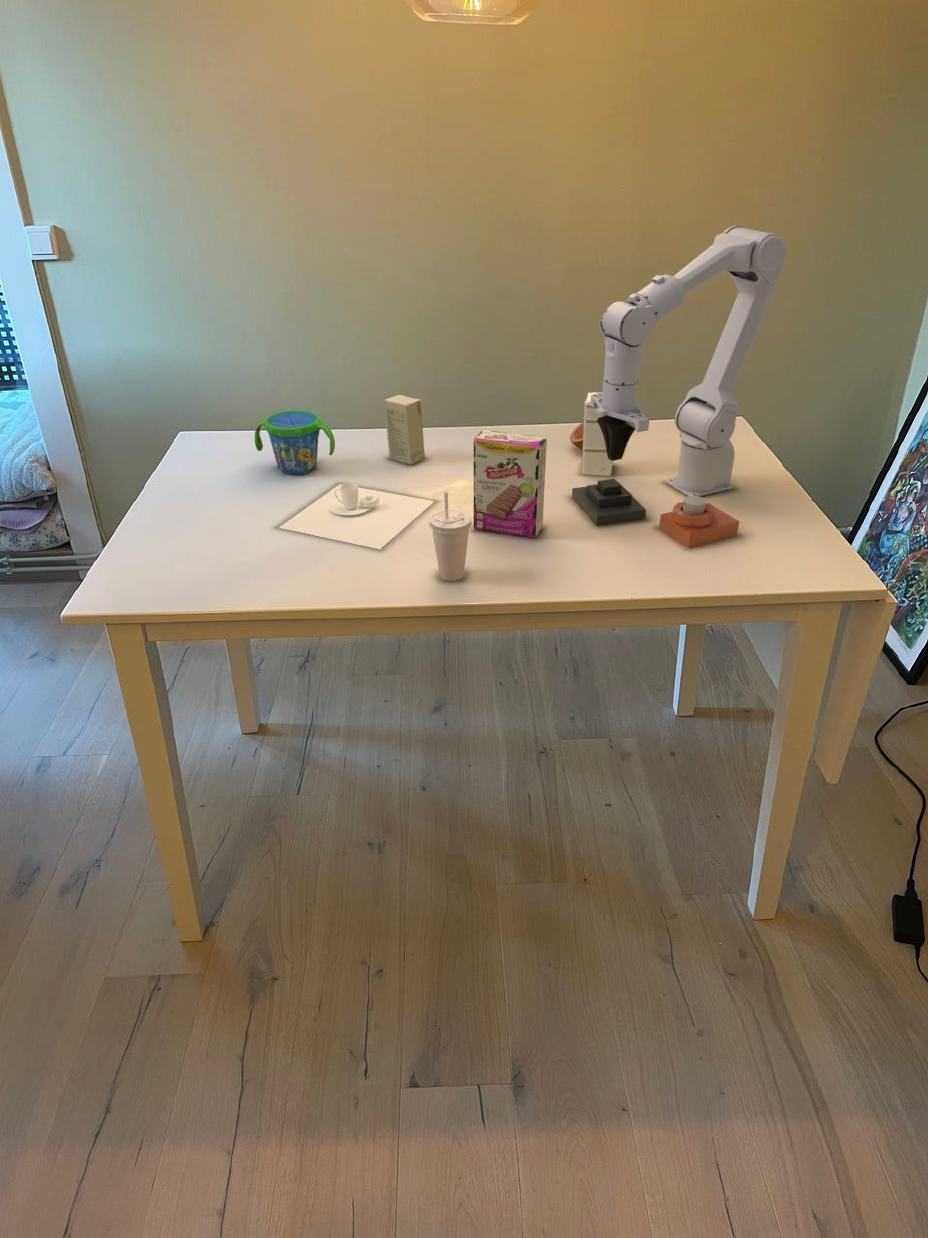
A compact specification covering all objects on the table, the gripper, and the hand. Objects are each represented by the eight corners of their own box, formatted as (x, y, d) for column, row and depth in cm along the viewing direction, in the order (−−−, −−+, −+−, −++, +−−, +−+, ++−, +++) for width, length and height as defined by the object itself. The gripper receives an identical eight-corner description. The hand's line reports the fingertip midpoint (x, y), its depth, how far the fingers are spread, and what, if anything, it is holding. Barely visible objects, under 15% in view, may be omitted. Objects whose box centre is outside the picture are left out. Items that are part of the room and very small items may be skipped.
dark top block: (613, 487, 154) (614, 478, 153) (620, 494, 152) (621, 485, 151) (596, 489, 153) (597, 480, 153) (603, 497, 151) (604, 487, 150)
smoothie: (430, 566, 137) (426, 484, 130) (470, 563, 138) (469, 482, 130) (432, 586, 132) (429, 502, 125) (474, 584, 132) (473, 500, 125)
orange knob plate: (706, 516, 151) (710, 492, 148) (737, 535, 145) (741, 511, 142) (658, 528, 147) (661, 504, 145) (687, 548, 141) (691, 523, 139)
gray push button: (695, 505, 145) (697, 494, 144) (709, 513, 142) (711, 502, 141) (677, 509, 144) (679, 498, 143) (691, 518, 141) (692, 506, 140)
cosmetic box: (425, 459, 174) (423, 399, 168) (410, 465, 172) (407, 405, 165) (402, 451, 178) (399, 393, 171) (387, 458, 175) (383, 398, 169)
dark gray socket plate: (617, 491, 160) (619, 474, 158) (645, 519, 150) (647, 501, 148) (571, 497, 158) (572, 479, 156) (596, 526, 148) (598, 507, 146)
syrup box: (611, 476, 166) (617, 402, 158) (580, 474, 167) (584, 400, 159) (613, 465, 171) (619, 392, 163) (582, 463, 172) (587, 391, 164)
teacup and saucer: (385, 503, 157) (383, 482, 155) (362, 521, 151) (361, 499, 149) (343, 495, 160) (341, 474, 158) (320, 512, 154) (317, 491, 152)
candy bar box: (472, 531, 147) (471, 438, 139) (481, 518, 151) (481, 428, 143) (536, 540, 144) (539, 446, 135) (544, 527, 148) (547, 435, 139)
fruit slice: (605, 457, 174) (607, 433, 171) (572, 457, 174) (573, 433, 171) (599, 441, 181) (601, 418, 178) (567, 442, 181) (568, 419, 178)
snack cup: (345, 462, 174) (340, 412, 168) (324, 482, 165) (318, 431, 160) (274, 454, 178) (267, 406, 172) (249, 475, 169) (241, 424, 164)
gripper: (577, 371, 146) (573, 448, 153) (625, 396, 135) (618, 478, 142) (612, 365, 148) (607, 441, 156) (663, 389, 137) (654, 470, 145)
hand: (614, 458), depth 149 cm, fingers closed
